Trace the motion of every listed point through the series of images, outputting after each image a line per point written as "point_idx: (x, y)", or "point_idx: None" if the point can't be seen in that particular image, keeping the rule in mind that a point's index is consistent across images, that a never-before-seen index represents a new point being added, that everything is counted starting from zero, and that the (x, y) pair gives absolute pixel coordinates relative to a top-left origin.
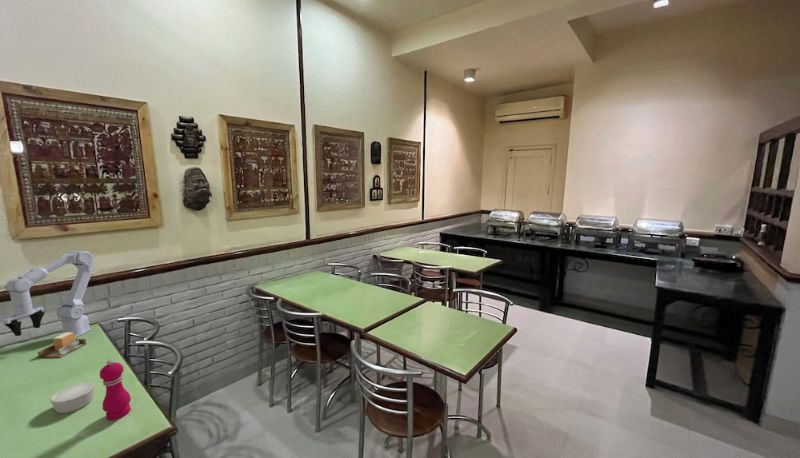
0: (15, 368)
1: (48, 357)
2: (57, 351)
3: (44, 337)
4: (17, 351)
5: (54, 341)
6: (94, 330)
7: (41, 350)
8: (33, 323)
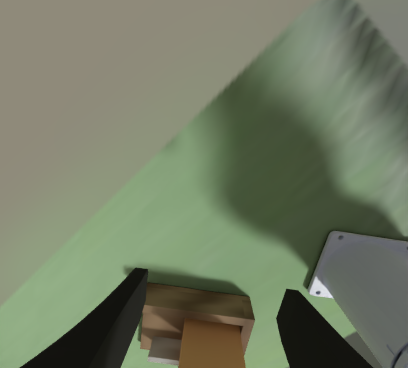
0: (76, 264)
1: (143, 312)
2: (179, 318)
3: (379, 141)
4: (223, 142)
5: (180, 356)
6: None
7: (152, 306)
8: (313, 335)
